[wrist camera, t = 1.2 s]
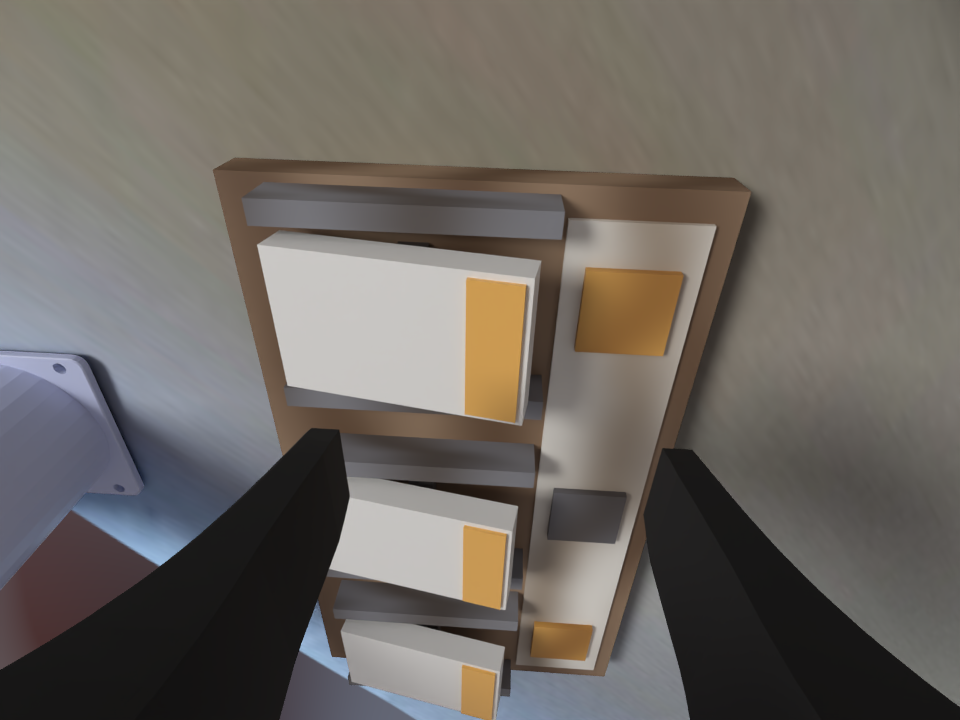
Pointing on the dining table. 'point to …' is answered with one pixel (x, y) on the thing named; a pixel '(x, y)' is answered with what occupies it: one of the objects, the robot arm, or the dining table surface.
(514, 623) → the switch board
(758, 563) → the robot arm
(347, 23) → the dining table surface
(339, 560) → the rocker middle
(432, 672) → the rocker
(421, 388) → the rocker
